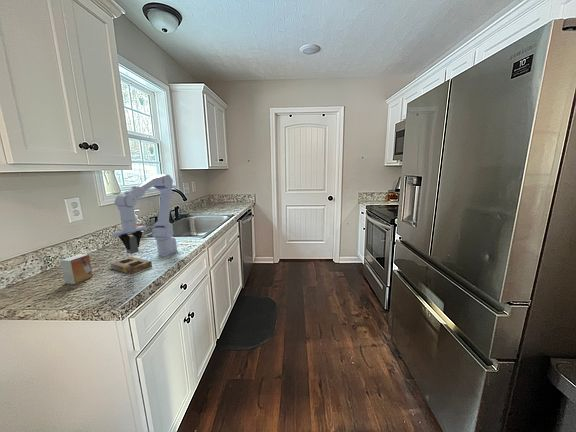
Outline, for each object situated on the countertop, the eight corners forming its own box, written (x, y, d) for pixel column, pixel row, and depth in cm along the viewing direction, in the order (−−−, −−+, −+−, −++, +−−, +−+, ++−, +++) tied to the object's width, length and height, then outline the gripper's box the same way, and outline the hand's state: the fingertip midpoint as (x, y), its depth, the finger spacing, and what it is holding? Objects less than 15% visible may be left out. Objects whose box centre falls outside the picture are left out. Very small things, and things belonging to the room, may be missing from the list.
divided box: (132, 262, 125) (131, 256, 124) (152, 267, 117) (151, 261, 117) (110, 269, 116) (109, 263, 115) (130, 275, 109) (129, 269, 108)
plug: (134, 250, 118) (131, 234, 117) (138, 251, 116) (136, 235, 115) (127, 253, 115) (124, 236, 114) (131, 253, 113) (128, 237, 112)
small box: (74, 284, 101) (69, 260, 99) (64, 283, 102) (59, 260, 100) (93, 276, 109) (89, 254, 107) (83, 275, 110) (79, 253, 108)
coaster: (135, 256, 133) (135, 256, 133) (142, 258, 130) (141, 257, 130) (123, 260, 128) (123, 259, 127) (130, 262, 125) (130, 261, 125)
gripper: (139, 216, 121) (142, 243, 123) (106, 222, 108) (111, 251, 111) (147, 217, 117) (151, 244, 120) (115, 223, 105) (120, 253, 107)
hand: (132, 248), depth 115 cm, fingers closed on plug, 3 cm apart
